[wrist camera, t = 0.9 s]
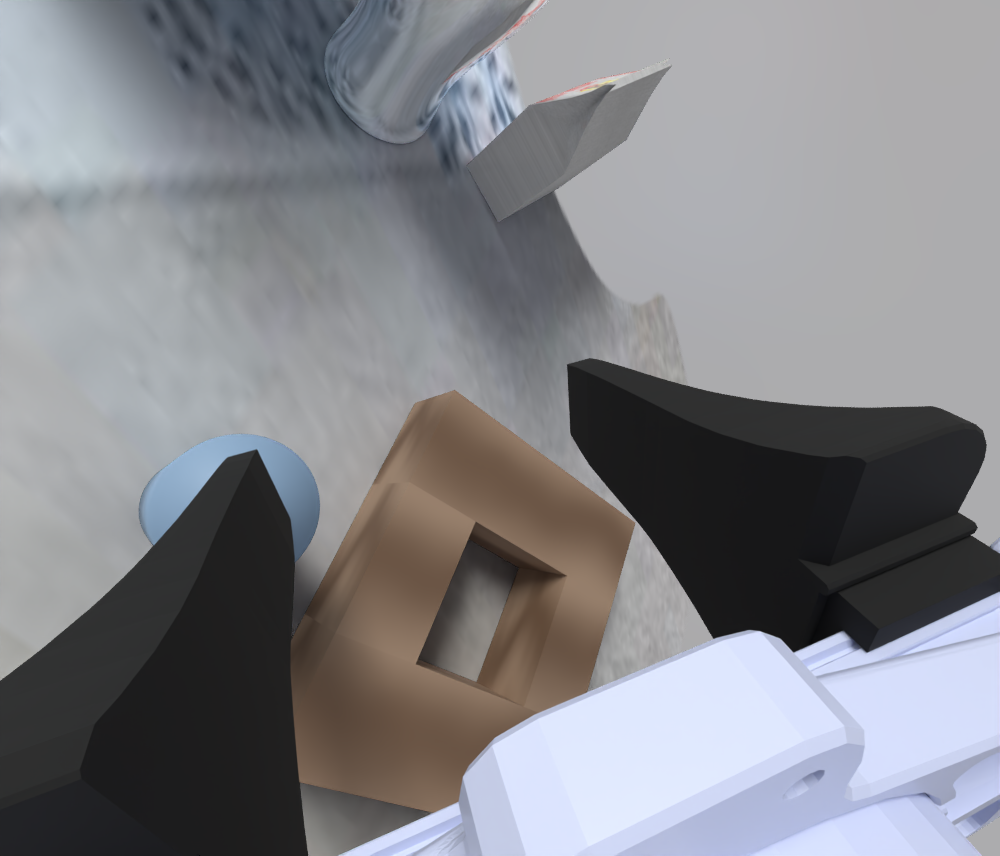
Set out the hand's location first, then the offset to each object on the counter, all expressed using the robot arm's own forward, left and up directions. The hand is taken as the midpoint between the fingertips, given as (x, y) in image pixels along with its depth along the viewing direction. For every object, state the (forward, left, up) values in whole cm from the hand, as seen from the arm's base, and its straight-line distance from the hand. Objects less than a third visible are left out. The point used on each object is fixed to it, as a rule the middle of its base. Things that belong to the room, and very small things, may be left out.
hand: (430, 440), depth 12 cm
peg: (-3, +2, -13) cm, 14 cm away
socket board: (-2, -11, -13) cm, 17 cm away
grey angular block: (+23, -3, -14) cm, 27 cm away
